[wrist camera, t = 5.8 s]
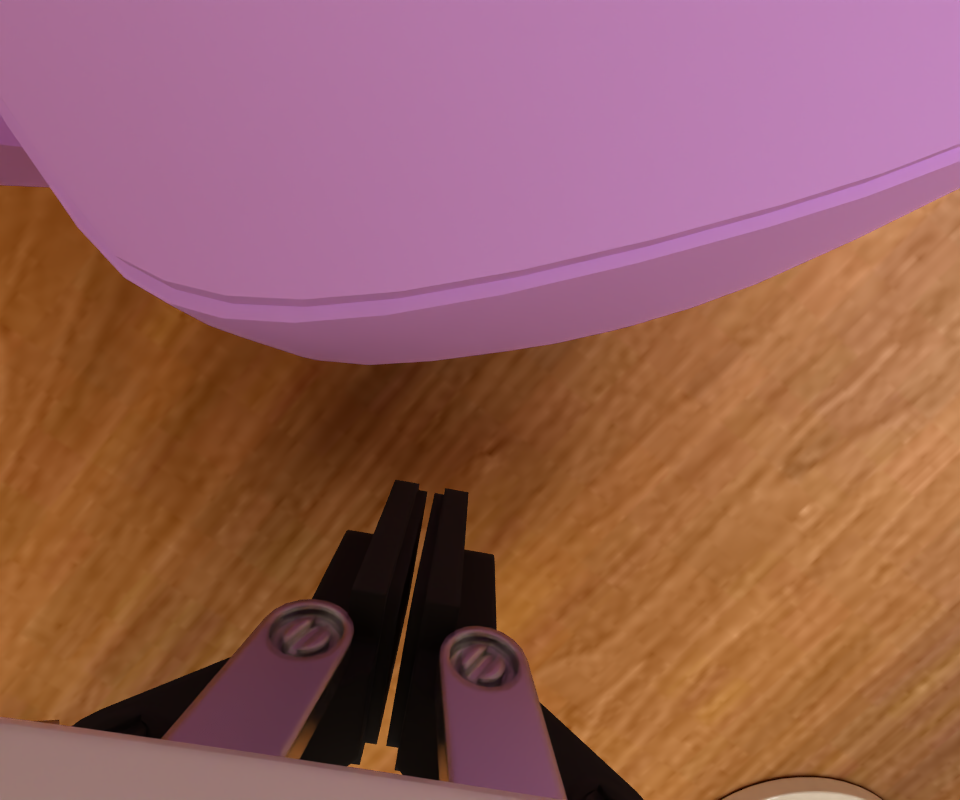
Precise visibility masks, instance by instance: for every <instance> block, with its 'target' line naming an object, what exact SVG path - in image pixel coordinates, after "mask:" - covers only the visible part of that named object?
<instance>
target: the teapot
mask: <svg viewBox="0 0 960 800" xmlns="http://www.w3.org/2000/svg"><path fill="white" fill-rule="evenodd" d="M0 185H9V186H33V187H50V188H51V189H52V191H53V192H54V194H55V195H56V197H57V198H58V200H59V201H60V202H61V204H62V205H63V207H64V208H65V210H66V211H67V213H68V214H69V215H70V217H71V218H72V220H73V221H74V223H75V224H76V226H77V227H78V228H79V229H80V230H81V231H82V233H83V234H84V235H85V236H86V237H87V238H88V239H89V240H90V241H91V242H92V243H93V244H94V245H95V246H96V248H97V249H98V250H99V251H100V252H101V253H102V254H103V255H104V256H105V257H106V258H107V259H108V260H109V261H110V263H111V264H112V265H113V266H114V267H115V268H116V269H117V270H118V271H119V272H120V273H121V274H122V275H123V276H124V278H126V279H127V280H129V281H131V282H132V283H134V284H136V285H137V286H139V287H141V288H142V289H144V290H146V291H148V292H149V293H151V294H153V295H154V296H156V297H158V298H159V299H161V300H163V301H164V302H166V303H168V304H169V305H171V306H173V307H175V308H177V309H179V310H181V311H183V312H185V313H186V314H188V315H190V316H192V317H194V318H196V319H198V320H200V321H202V322H203V323H205V324H207V325H209V326H212V327H215V328H218V329H220V330H223V331H226V332H229V333H232V334H234V335H237V336H240V337H243V338H246V339H249V340H252V341H255V342H258V343H261V344H264V345H267V346H270V347H273V348H277V349H280V350H283V351H286V352H289V353H292V354H295V355H298V356H301V357H305V358H310V359H315V360H320V361H331V362H342V363H353V364H363V365H376V364H392V363H408V362H424V361H437V360H444V359H452V358H460V357H467V356H475V355H482V354H490V353H498V352H505V351H511V350H517V349H524V348H530V347H536V346H543V345H549V344H556V343H560V342H565V341H569V340H573V339H578V338H582V337H587V336H591V335H595V334H600V333H604V332H609V331H613V330H617V329H621V328H625V327H629V326H632V325H636V324H639V323H642V322H646V321H649V320H652V319H656V318H659V317H662V316H666V315H669V314H672V313H676V312H679V311H682V310H686V309H689V308H693V307H695V306H698V305H701V304H703V303H706V302H709V301H711V300H714V299H717V298H720V297H722V296H725V295H728V294H730V293H733V292H736V291H738V290H741V289H744V288H746V287H749V286H752V285H754V284H757V283H760V282H762V281H764V280H766V279H768V278H771V277H773V276H775V275H777V274H780V273H782V272H784V271H786V270H789V269H791V268H793V267H795V266H797V265H800V264H802V263H804V262H806V261H809V260H811V259H813V258H815V257H818V256H820V255H822V254H824V253H826V252H829V251H831V250H833V249H835V248H837V247H840V246H842V245H844V244H846V243H848V242H851V241H853V240H855V239H857V238H859V237H861V236H863V235H865V234H867V233H869V232H872V231H874V230H876V229H878V228H880V227H882V226H884V225H886V224H888V223H890V222H892V221H894V220H896V219H898V218H900V217H902V216H904V215H906V214H908V213H910V212H912V211H914V210H916V209H918V208H920V207H922V206H924V205H926V204H928V203H930V202H932V201H934V200H936V199H938V198H940V197H943V196H945V195H947V194H949V193H951V192H953V191H955V190H957V189H959V188H960V0H0Z"/></svg>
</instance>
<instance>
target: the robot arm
mask: <svg viewBox="0 0 960 800" xmlns="http://www.w3.org/2000/svg"><path fill="white" fill-rule="evenodd" d="M426 497H427V492H426V491H420V490H419V484H417V483H411V482H406V481H400V480H395V482H394V485H393V487H392V490H391V492H390V495H389V497H388V500H387V502H386V505H385V507H384V510H383V512H382V515H381V517H380V520H379V522H378V525H377V527H376V530H375V532H374V534H369V533H363V532H357V531H352V530H347V531H346V533H345V535H344V537H343V539H342V541H341V543H340V545H339V547H338V549H337V551H336V553H335V555H334V556H333V558H332V560H331V562H330V564H329V566H328V568H327V570H326V572H325V574H324V576H323V578H322V580H321V582H320V584H319V586H318V588H317V590H316V592H315V594H314V596H313V598H312V599H307V600H298V601H294V602H290V603H286V604H284V605H282V606H280V607H278V608H276V609H274V610H273V611H272V612H271V613H270V614H269V615H268V616H266V617H265V618H264V619H263V621H262V622H261V623H260V624H259V625H258V626H257V628H256V629H255V630H254V631H253V632H252V633H251V635H250V636H249V637H248V638H247V639H246V640H245V642H244V643H243V644H242V645H241V646H240V647H239V649H238V650H237V651H236V652H235V653H234V654H233V656H232V657H230V658H227V659H225V660H222V661H220V662H217V663H215V664H213V665H210V666H208V667H205V668H203V669H200V670H198V671H195V672H193V673H190V674H188V675H185V676H183V677H180V678H178V679H175V680H173V681H170V682H168V683H165V684H163V685H160V686H158V687H156V688H153V689H151V690H148V691H146V692H143V693H141V694H138V695H136V696H133V697H131V698H128V699H126V700H123V701H121V702H118V703H116V704H113V705H111V706H108V707H106V708H104V709H101V710H99V711H97V712H95V713H93V714H91V715H89V716H87V717H85V718H83V719H81V720H80V721H78V722H77V723H76V724H74V725H73V726H64V725H59V720H47V721H28V720H20V719H13V718H4V717H0V800H643V798H642V797H641V796H640V795H639V794H638V793H637V792H636V791H635V790H634V789H633V788H632V787H631V786H630V785H629V784H628V783H627V782H626V781H624V780H623V779H622V778H621V777H620V776H619V775H618V774H617V773H616V772H615V771H614V770H613V769H611V768H610V767H609V766H608V765H607V764H606V763H605V762H604V761H603V760H602V759H601V758H600V757H598V756H597V755H596V754H595V753H594V752H593V751H592V750H591V749H590V748H589V747H588V746H587V745H585V744H584V743H583V742H582V741H581V740H580V739H579V738H578V737H577V736H576V735H575V734H574V733H572V732H571V731H570V730H569V729H568V728H567V727H566V726H565V725H564V724H563V723H562V722H561V721H559V720H558V719H557V718H556V717H555V716H554V715H553V714H552V713H551V712H550V711H549V710H548V709H546V708H545V707H544V706H543V705H542V704H541V703H540V702H539V699H538V695H537V692H536V689H535V685H534V682H533V678H532V675H531V671H530V668H529V664H528V661H527V658H526V656H525V654H524V652H523V650H522V649H521V648H520V646H519V645H518V644H517V643H516V642H515V641H514V640H513V639H511V638H510V637H508V636H507V635H505V634H504V633H502V632H500V631H497V630H496V595H495V561H494V555H493V554H487V553H481V552H475V551H469V550H464V546H465V533H466V519H467V505H468V492H463V491H457V490H452V489H446V488H445V492H444V495H443V494H438V493H435V494H434V499H433V504H432V508H431V513H430V518H429V522H428V527H427V532H426V536H425V541H424V546H423V550H422V555H421V560H420V564H419V569H418V574H417V578H416V583H415V588H414V593H413V598H412V603H411V608H410V613H409V619H408V625H407V630H406V636H405V642H404V648H403V653H402V659H401V665H400V670H399V676H398V682H397V688H396V693H395V699H394V705H393V710H392V716H391V722H390V728H389V733H388V739H387V745H386V746H391V747H397V748H398V754H397V760H396V765H395V770H397V771H400V772H401V773H402V775H399V774H392V773H386V772H379V771H373V770H366V769H360V768H353V767H347V766H348V765H350V764H357V765H360V761H361V757H362V753H363V749H364V745H365V743H371V744H377V740H378V736H379V732H380V727H381V723H382V718H383V714H384V709H385V705H386V700H387V696H388V691H389V687H390V682H391V678H392V673H393V669H394V664H395V660H396V655H397V651H398V646H399V642H400V637H401V633H402V628H403V624H404V619H405V615H406V610H407V606H408V601H409V595H410V590H411V584H412V578H413V572H414V567H415V561H416V555H417V549H418V543H419V538H420V532H421V526H422V520H423V515H424V509H425V503H426Z"/></svg>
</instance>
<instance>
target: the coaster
mask: <svg viewBox="0 0 960 800" xmlns="http://www.w3.org/2000/svg"><path fill="white" fill-rule="evenodd" d="M722 800H882V799H880V798H879V797H878V796H876V795H875V794H873V793H872V792H870V791H867V790H865V789H863V788H861V787H859V786H856V785H853V784H850V783H847V782H844V781H839V780H834V779H829V778H819V777H794V778H784V779H778V780H773V781H768V782H764V783H760V784H757V785H753V786H750V787H748V788H745V789H743V790H740V791H738V792H735V793H733V794H731V795H729V796H728V797H726V798H724V799H722Z"/></svg>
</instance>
